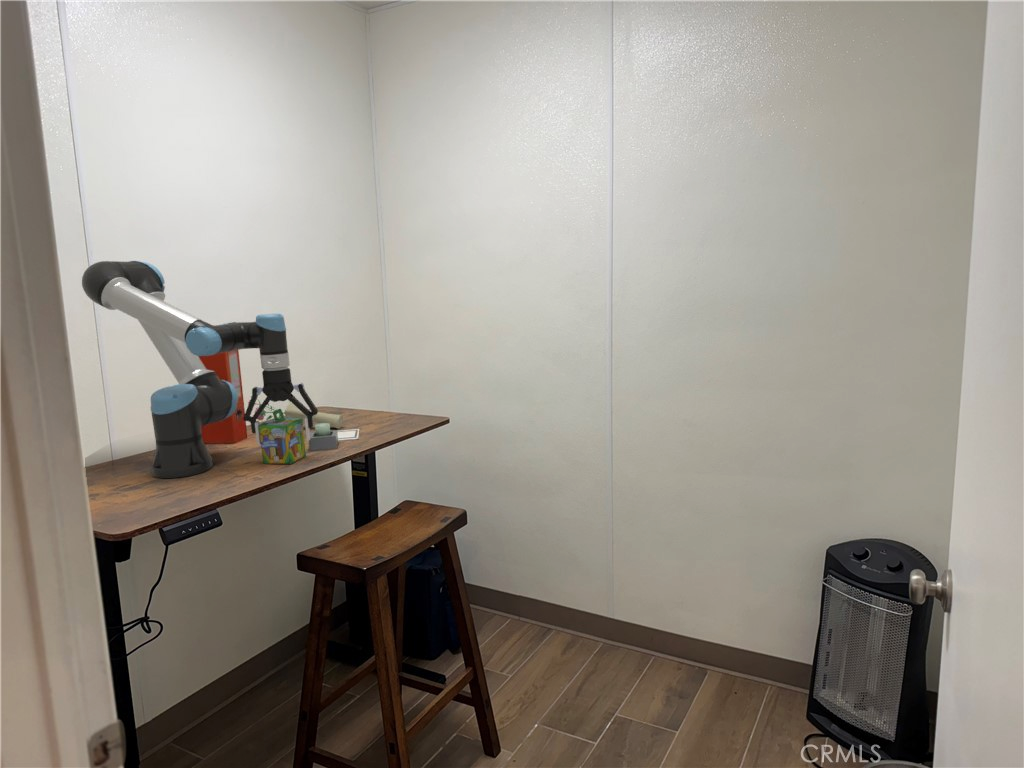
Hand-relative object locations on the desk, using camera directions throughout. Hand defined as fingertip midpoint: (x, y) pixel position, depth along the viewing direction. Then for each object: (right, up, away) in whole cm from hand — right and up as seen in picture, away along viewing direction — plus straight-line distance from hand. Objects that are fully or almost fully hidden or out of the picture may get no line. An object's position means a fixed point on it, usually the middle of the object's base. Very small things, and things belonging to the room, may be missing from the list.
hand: (284, 441), depth 193 cm
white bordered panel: (+9, 0, +28) cm, 29 cm away
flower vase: (-10, +1, +42) cm, 43 cm away
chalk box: (0, -6, +1) cm, 6 cm away
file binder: (-32, -2, +28) cm, 43 cm away
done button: (+7, 0, +14) cm, 16 cm away
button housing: (+7, -3, +14) cm, 16 cm away
